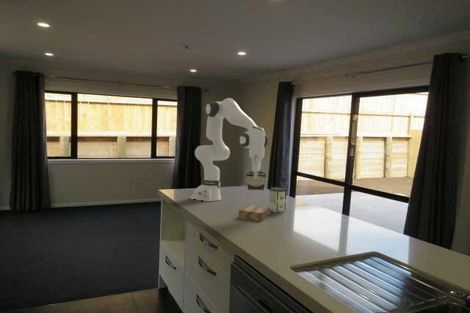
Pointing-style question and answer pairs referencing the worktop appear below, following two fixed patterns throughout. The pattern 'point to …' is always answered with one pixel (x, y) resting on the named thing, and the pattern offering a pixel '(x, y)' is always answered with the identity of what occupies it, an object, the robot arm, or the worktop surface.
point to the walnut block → (254, 212)
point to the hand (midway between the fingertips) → (256, 178)
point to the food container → (256, 180)
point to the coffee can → (278, 199)
